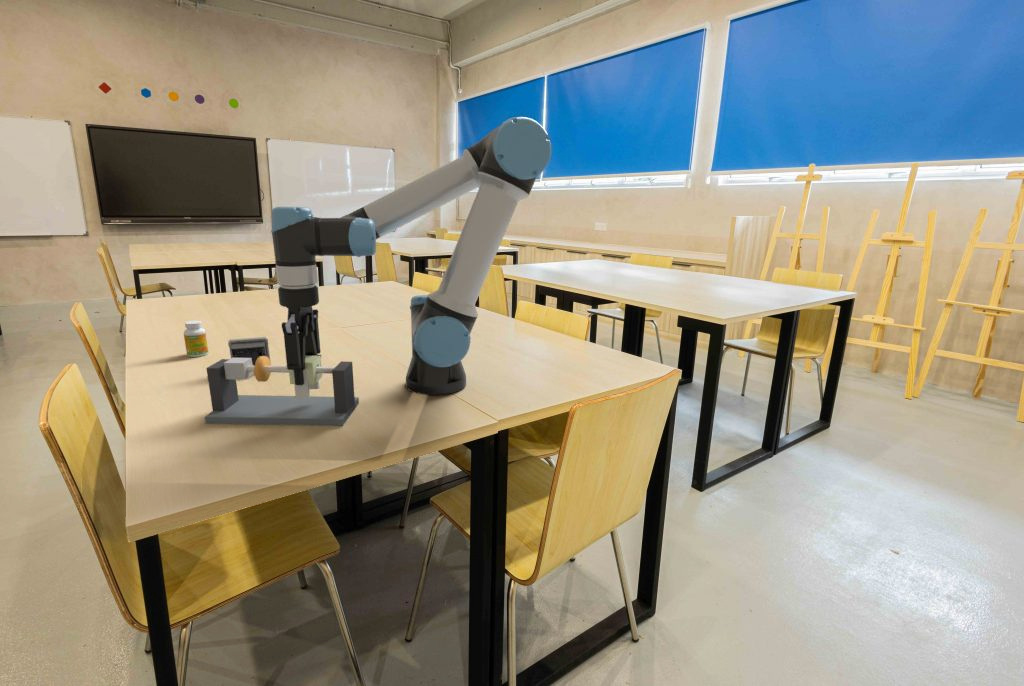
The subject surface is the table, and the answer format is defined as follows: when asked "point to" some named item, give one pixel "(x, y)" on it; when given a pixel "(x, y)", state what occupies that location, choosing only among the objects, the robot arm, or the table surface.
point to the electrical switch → (249, 348)
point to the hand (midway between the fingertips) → (307, 392)
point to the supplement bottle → (195, 339)
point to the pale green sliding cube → (310, 369)
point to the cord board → (276, 408)
